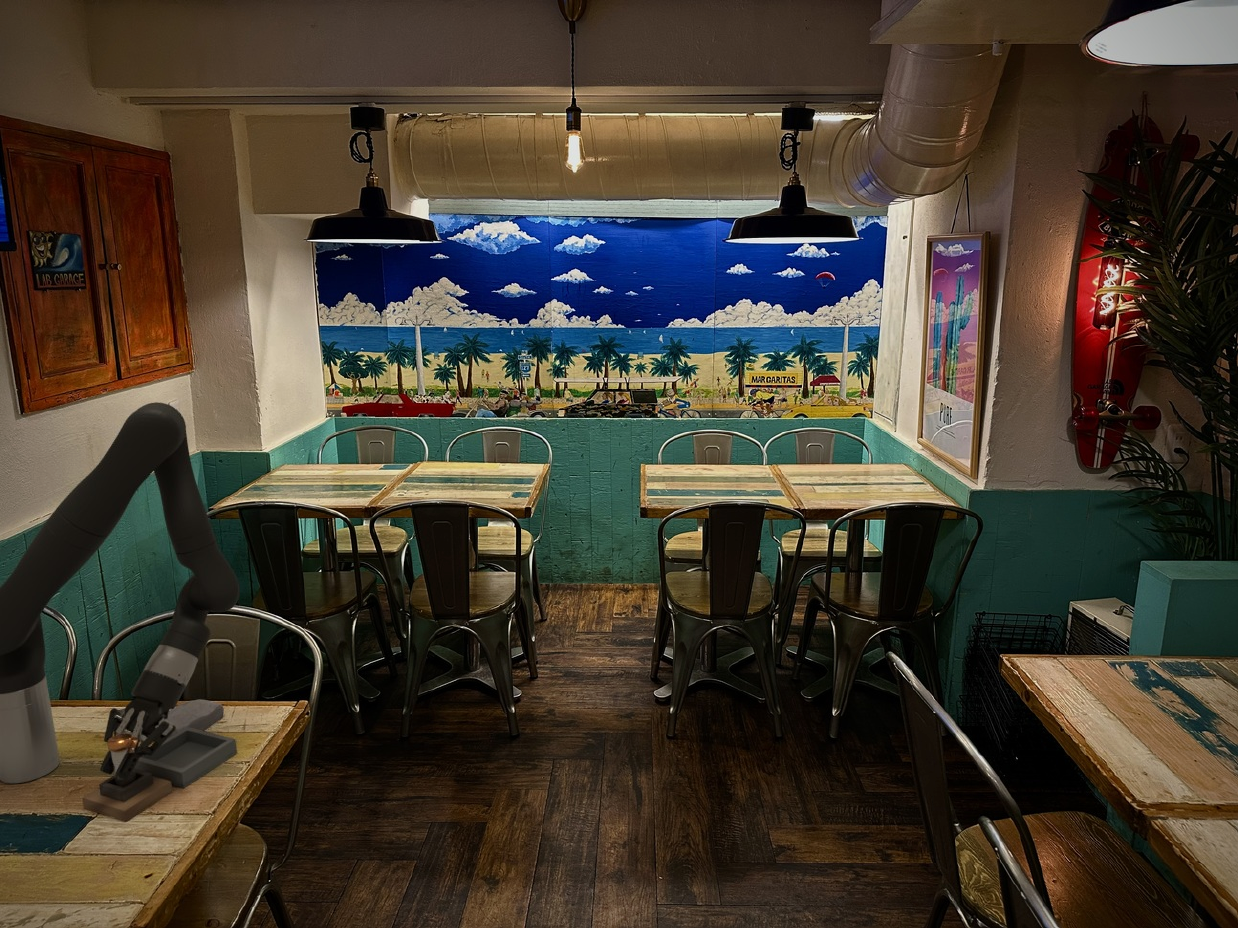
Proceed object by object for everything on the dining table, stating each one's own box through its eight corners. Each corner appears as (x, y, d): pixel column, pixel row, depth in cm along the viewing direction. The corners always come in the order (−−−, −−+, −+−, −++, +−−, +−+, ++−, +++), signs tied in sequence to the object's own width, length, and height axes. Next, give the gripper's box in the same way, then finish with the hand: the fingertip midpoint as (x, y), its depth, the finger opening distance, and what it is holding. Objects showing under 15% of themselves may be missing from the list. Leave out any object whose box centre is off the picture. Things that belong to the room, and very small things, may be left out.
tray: (134, 773, 157) (132, 758, 156) (189, 740, 167) (187, 726, 167) (183, 788, 152) (181, 772, 152) (237, 753, 163) (235, 738, 162)
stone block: (145, 748, 169) (187, 745, 166) (139, 725, 168) (180, 722, 165) (190, 720, 180) (229, 717, 177) (184, 698, 179) (223, 695, 177)
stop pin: (109, 791, 148) (102, 742, 146) (128, 780, 151) (121, 731, 149) (125, 796, 146) (117, 746, 144) (143, 784, 150) (136, 735, 147)
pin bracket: (83, 808, 147) (80, 786, 146) (131, 779, 155) (128, 759, 154) (126, 821, 143) (123, 799, 142) (172, 791, 151) (169, 770, 150)
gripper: (122, 662, 154) (66, 760, 145) (181, 675, 149) (126, 778, 140) (151, 677, 160) (99, 772, 151) (209, 690, 155) (159, 789, 146)
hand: (113, 774), depth 146 cm, fingers closed on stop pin, 3 cm apart
